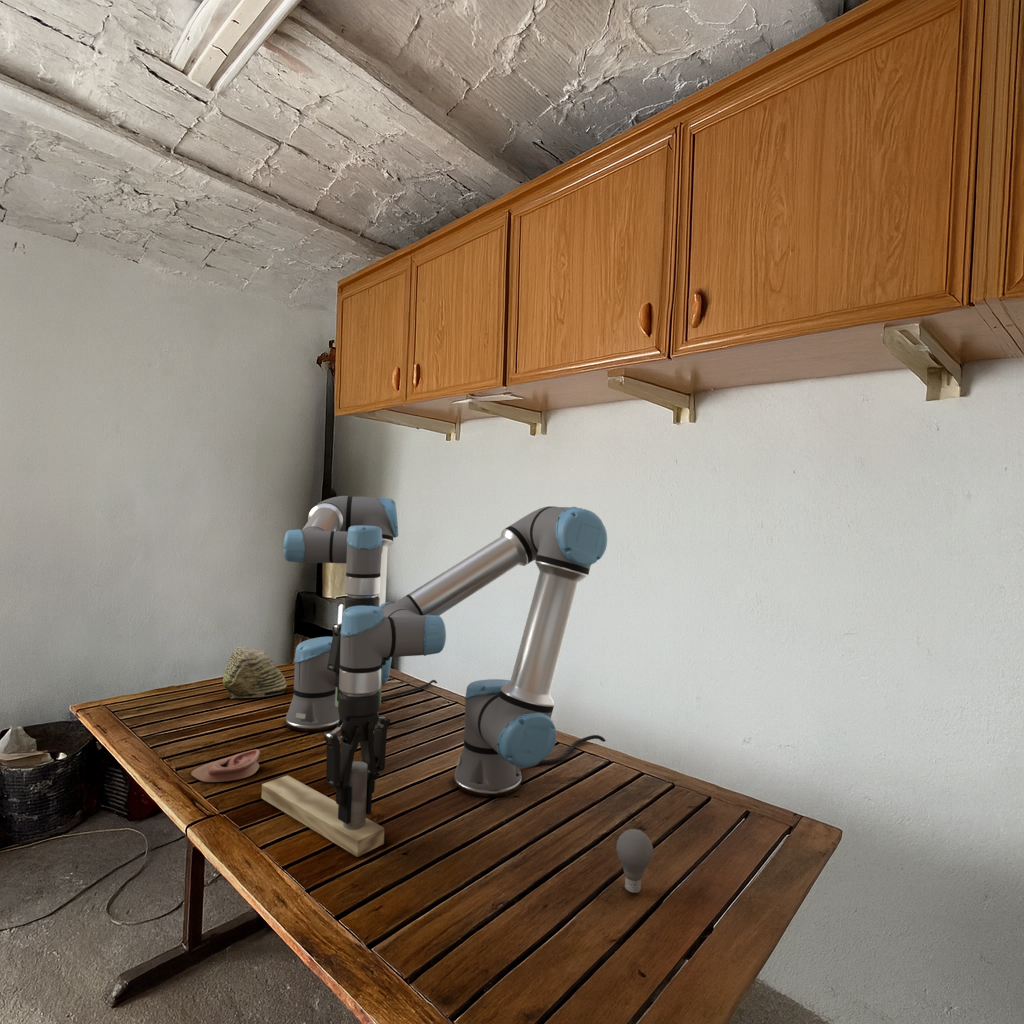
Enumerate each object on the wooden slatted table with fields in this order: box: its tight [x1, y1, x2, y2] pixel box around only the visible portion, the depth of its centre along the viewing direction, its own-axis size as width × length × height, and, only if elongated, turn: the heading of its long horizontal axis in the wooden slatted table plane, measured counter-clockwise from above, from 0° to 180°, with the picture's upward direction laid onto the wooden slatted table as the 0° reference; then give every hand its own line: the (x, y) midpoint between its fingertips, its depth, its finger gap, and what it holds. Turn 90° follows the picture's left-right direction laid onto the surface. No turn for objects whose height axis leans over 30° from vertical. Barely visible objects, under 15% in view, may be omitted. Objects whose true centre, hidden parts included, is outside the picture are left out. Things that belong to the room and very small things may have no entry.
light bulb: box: [615, 828, 654, 894], centre depth 106 cm, size 6×6×10 cm
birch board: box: [261, 760, 385, 858], centre depth 124 cm, size 6×32×14 cm, turn 51°
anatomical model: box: [190, 748, 261, 783], centre depth 143 cm, size 13×4×12 cm
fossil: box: [222, 646, 288, 699], centre depth 198 cm, size 9×18×15 cm, turn 132°
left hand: (358, 697), depth 141 cm, fingers closed on green block, 8 cm apart
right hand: (354, 815), depth 117 cm, fingers closed on birch board, 4 cm apart
